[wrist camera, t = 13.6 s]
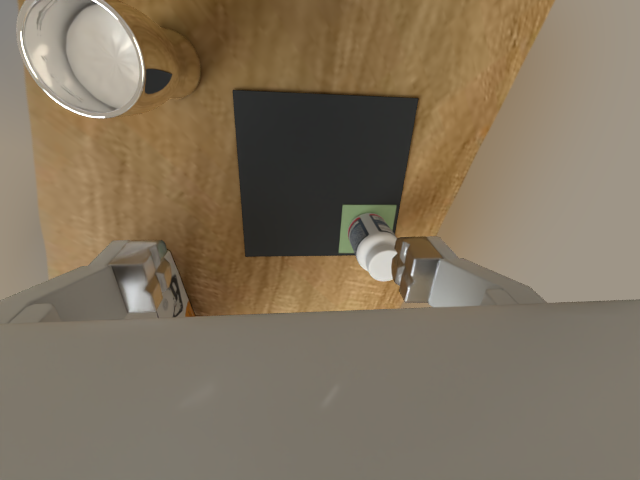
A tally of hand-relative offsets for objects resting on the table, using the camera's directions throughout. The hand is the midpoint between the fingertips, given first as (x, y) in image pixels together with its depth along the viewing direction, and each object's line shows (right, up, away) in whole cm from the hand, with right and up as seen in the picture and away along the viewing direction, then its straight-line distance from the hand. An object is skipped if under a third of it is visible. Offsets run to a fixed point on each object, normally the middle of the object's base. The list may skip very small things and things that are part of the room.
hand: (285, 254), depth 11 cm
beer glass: (-14, +18, +20) cm, 30 cm away
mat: (+2, +7, +27) cm, 28 cm away
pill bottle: (+7, +2, +30) cm, 31 cm away
